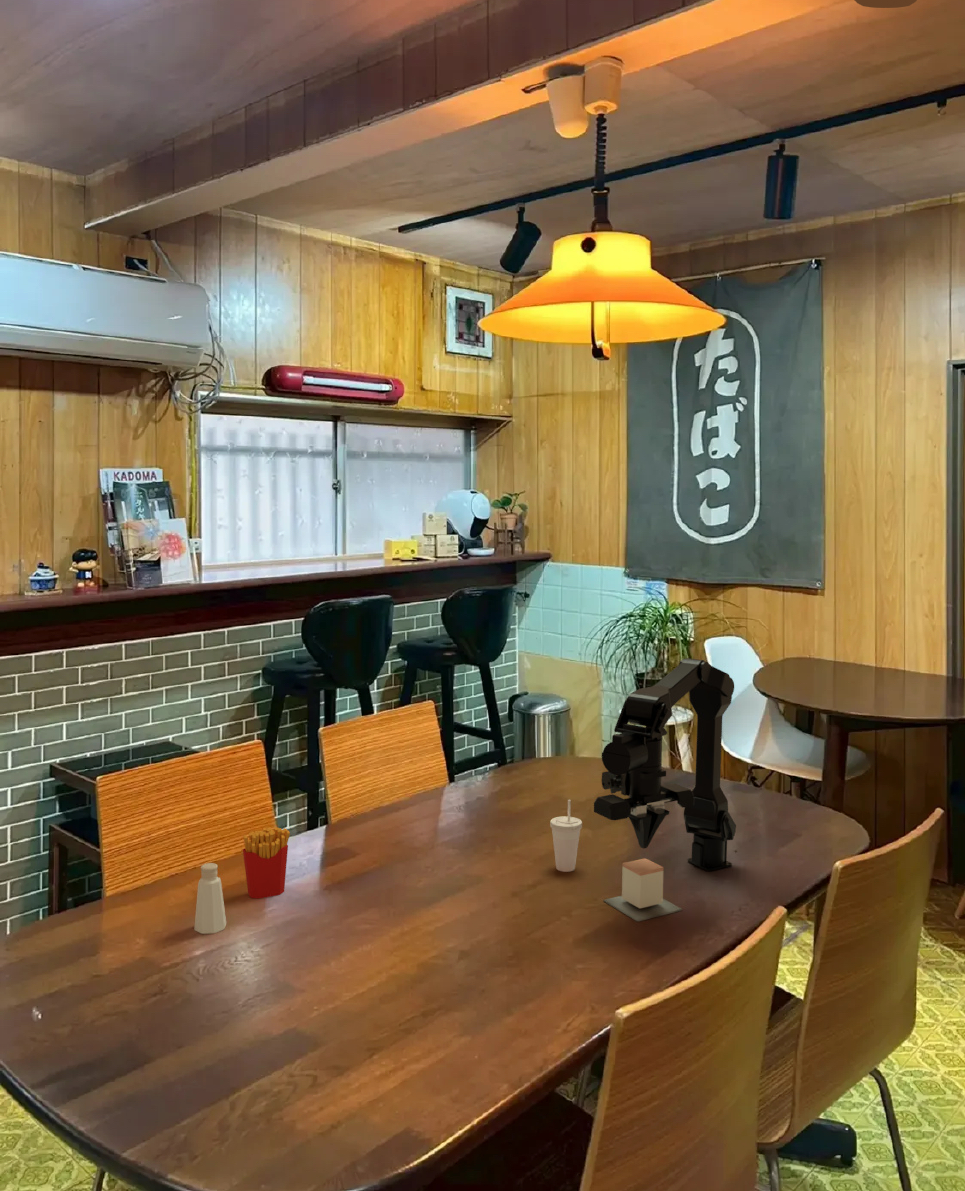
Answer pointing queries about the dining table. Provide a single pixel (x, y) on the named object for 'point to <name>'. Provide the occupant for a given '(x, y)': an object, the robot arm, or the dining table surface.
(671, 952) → the dining table surface
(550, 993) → the dining table surface
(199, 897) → the pepper shaker
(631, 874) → the cream orange-topped box
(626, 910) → the grey flat square slab
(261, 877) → the french fries
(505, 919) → the dining table surface
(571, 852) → the smoothie
